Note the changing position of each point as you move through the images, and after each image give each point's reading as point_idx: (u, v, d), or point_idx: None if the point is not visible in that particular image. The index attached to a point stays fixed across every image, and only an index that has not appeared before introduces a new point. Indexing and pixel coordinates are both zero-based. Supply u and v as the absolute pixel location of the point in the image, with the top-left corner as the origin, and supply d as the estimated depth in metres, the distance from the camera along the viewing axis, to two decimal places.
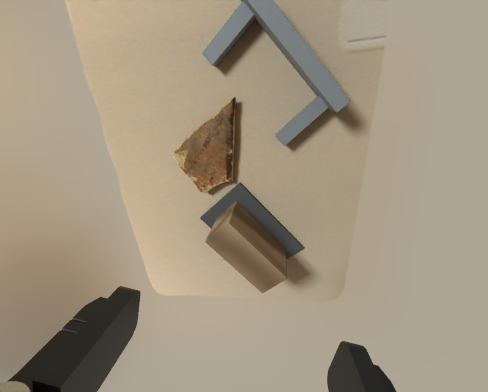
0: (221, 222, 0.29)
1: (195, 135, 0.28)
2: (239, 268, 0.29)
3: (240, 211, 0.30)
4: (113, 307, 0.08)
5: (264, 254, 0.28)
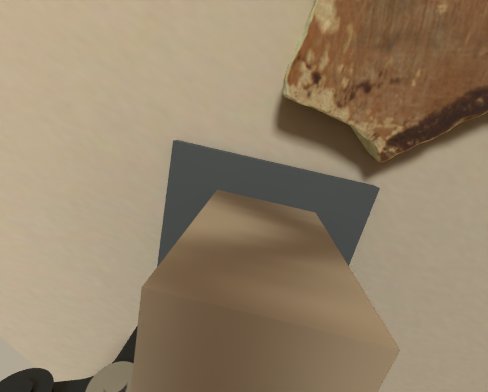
0: (272, 249, 0.06)
1: None
2: None
3: None
4: None
5: None
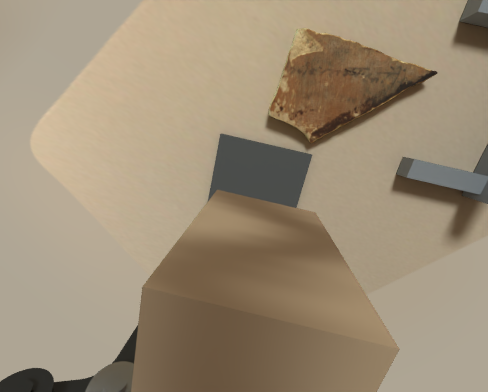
0: (272, 249, 0.06)
1: (353, 47, 0.17)
2: None
3: None
4: None
5: None
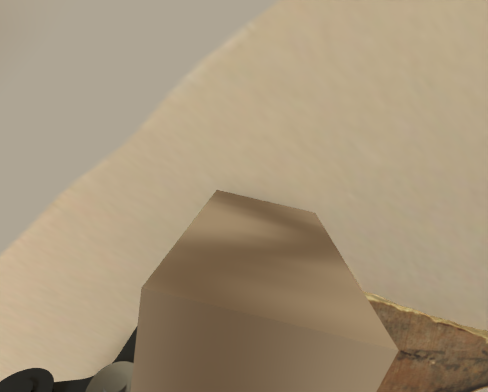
0: (272, 249, 0.06)
1: (417, 321, 0.10)
2: None
3: None
4: None
5: None
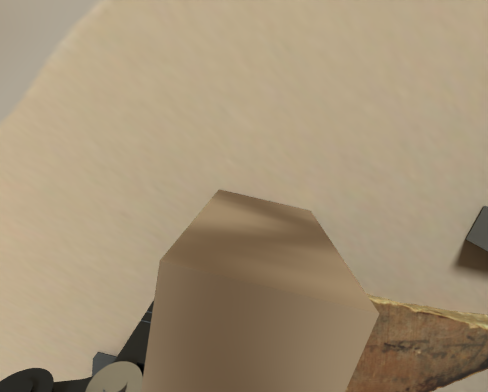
0: (270, 238, 0.06)
1: (397, 312, 0.10)
2: None
3: None
4: None
5: None
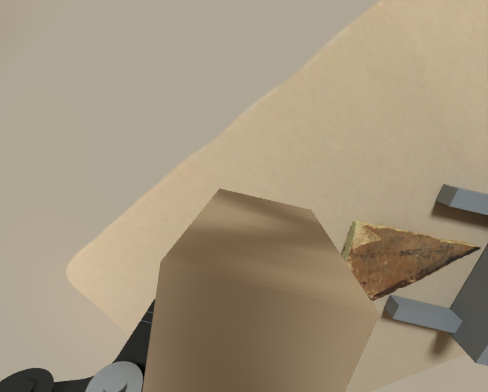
0: (271, 238, 0.06)
1: (406, 235, 0.20)
2: None
3: None
4: None
5: None
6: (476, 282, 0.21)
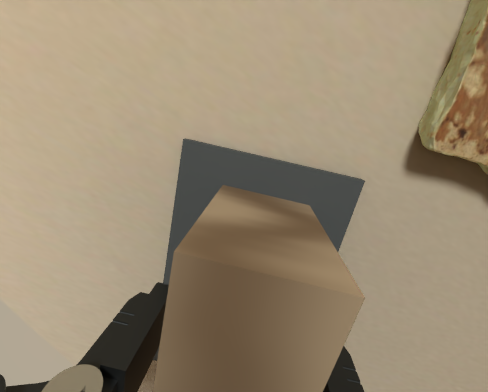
0: (271, 231, 0.07)
1: None
2: None
3: None
4: (156, 301, 0.08)
5: None
6: None
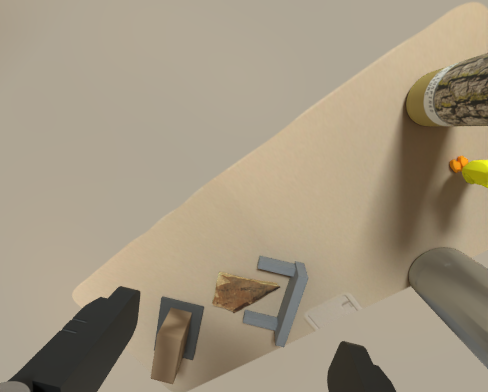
0: (174, 326, 0.40)
1: (242, 280, 0.40)
2: (156, 359, 0.39)
3: (188, 324, 0.42)
4: (113, 307, 0.08)
5: (176, 365, 0.40)
6: (282, 304, 0.41)
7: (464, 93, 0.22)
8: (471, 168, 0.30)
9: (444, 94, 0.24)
